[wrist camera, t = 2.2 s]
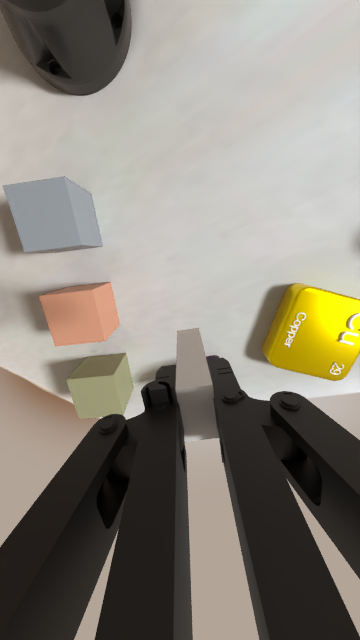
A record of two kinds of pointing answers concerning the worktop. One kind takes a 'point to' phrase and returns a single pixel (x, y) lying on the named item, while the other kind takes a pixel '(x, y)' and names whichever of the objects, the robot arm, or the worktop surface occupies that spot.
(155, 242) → the worktop surface
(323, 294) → the element tile
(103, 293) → the terracotta block
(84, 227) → the slate block
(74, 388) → the olive block
